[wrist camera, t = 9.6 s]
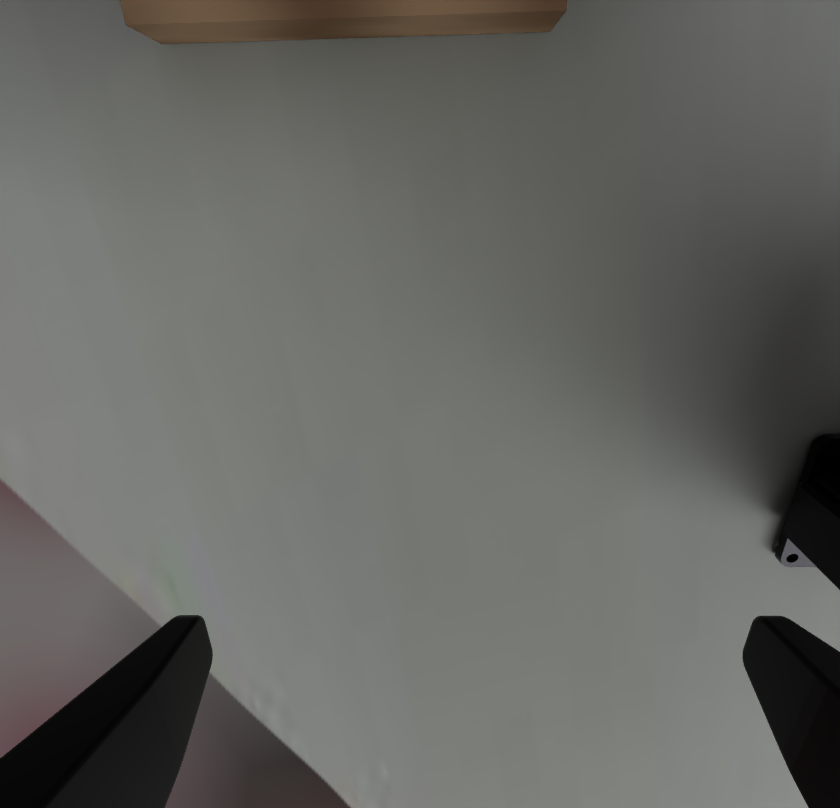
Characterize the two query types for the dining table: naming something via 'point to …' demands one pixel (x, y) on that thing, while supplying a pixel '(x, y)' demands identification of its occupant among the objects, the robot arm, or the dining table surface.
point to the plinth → (333, 18)
